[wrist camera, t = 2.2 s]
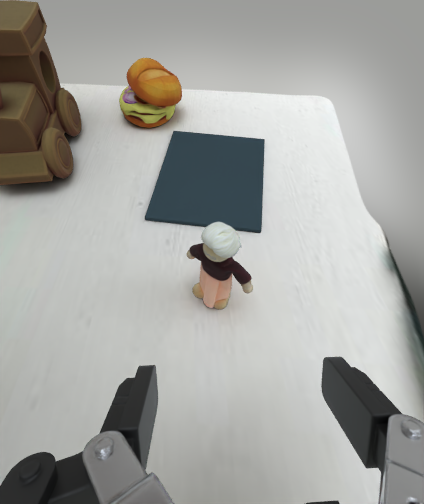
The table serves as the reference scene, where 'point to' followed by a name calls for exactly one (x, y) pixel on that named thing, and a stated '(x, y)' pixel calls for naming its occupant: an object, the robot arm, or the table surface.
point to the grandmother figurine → (218, 265)
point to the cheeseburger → (150, 94)
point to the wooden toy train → (32, 101)
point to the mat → (210, 182)
